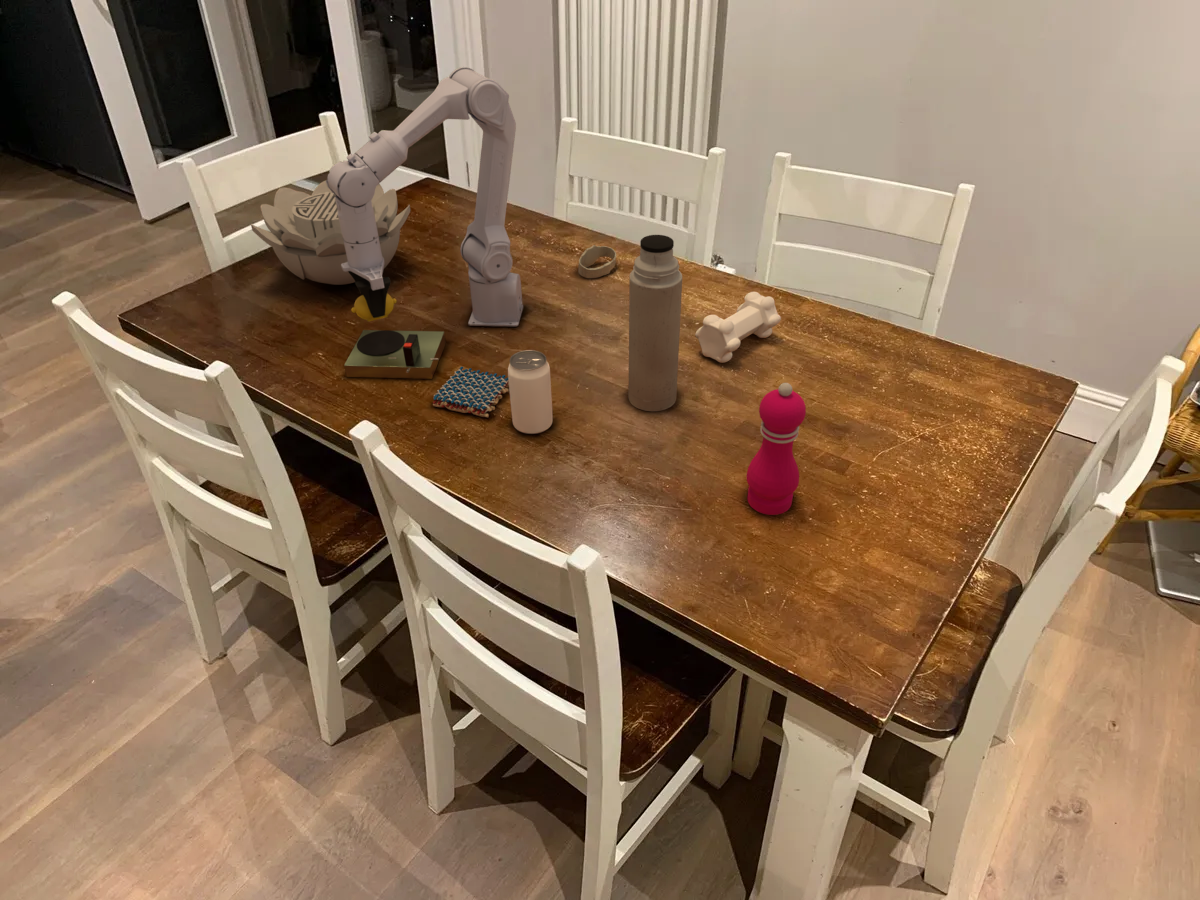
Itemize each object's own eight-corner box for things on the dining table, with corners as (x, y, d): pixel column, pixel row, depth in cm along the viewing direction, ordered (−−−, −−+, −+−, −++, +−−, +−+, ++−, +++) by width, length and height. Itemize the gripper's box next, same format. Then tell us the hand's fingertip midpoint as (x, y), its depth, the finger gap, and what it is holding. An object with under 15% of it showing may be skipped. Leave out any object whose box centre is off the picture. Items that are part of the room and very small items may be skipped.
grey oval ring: (603, 259, 184) (603, 237, 181) (624, 268, 180) (624, 246, 177) (571, 272, 179) (570, 250, 176) (591, 282, 176) (591, 260, 172)
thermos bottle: (636, 380, 147) (638, 225, 130) (681, 389, 145) (690, 232, 128) (622, 406, 141) (622, 247, 124) (668, 415, 139) (676, 255, 122)
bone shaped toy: (729, 371, 149) (733, 330, 144) (691, 353, 154) (693, 312, 149) (780, 339, 157) (786, 299, 152) (743, 322, 162) (747, 283, 157)
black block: (412, 351, 151) (408, 332, 148) (420, 351, 151) (417, 332, 148) (405, 365, 147) (402, 346, 145) (414, 366, 147) (411, 346, 145)
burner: (409, 331, 156) (409, 330, 156) (398, 356, 150) (398, 355, 150) (364, 330, 157) (364, 329, 157) (351, 355, 150) (350, 354, 150)
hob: (450, 343, 158) (449, 330, 156) (434, 385, 147) (432, 372, 145) (365, 341, 159) (363, 329, 157) (343, 383, 148) (340, 370, 146)
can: (547, 437, 135) (543, 373, 127) (507, 433, 136) (501, 368, 128) (557, 413, 140) (553, 350, 132) (518, 409, 141) (513, 346, 133)
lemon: (395, 306, 154) (391, 284, 152) (401, 317, 151) (397, 294, 149) (350, 316, 152) (345, 294, 149) (356, 327, 149) (351, 304, 146)
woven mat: (429, 408, 141) (427, 398, 140) (459, 374, 149) (458, 364, 148) (486, 420, 139) (485, 410, 137) (514, 385, 146) (513, 375, 145)
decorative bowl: (406, 308, 168) (394, 236, 159) (255, 308, 169) (234, 237, 159) (432, 242, 192) (422, 175, 183) (299, 242, 192) (283, 176, 183)
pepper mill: (738, 485, 125) (752, 370, 113) (787, 482, 126) (806, 366, 113) (749, 519, 119) (764, 401, 107) (801, 516, 120) (821, 398, 108)
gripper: (326, 225, 146) (342, 296, 154) (346, 258, 136) (362, 333, 144) (367, 217, 148) (381, 288, 157) (390, 249, 138) (403, 323, 147)
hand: (375, 309), depth 151 cm, fingers closed on lemon, 4 cm apart
